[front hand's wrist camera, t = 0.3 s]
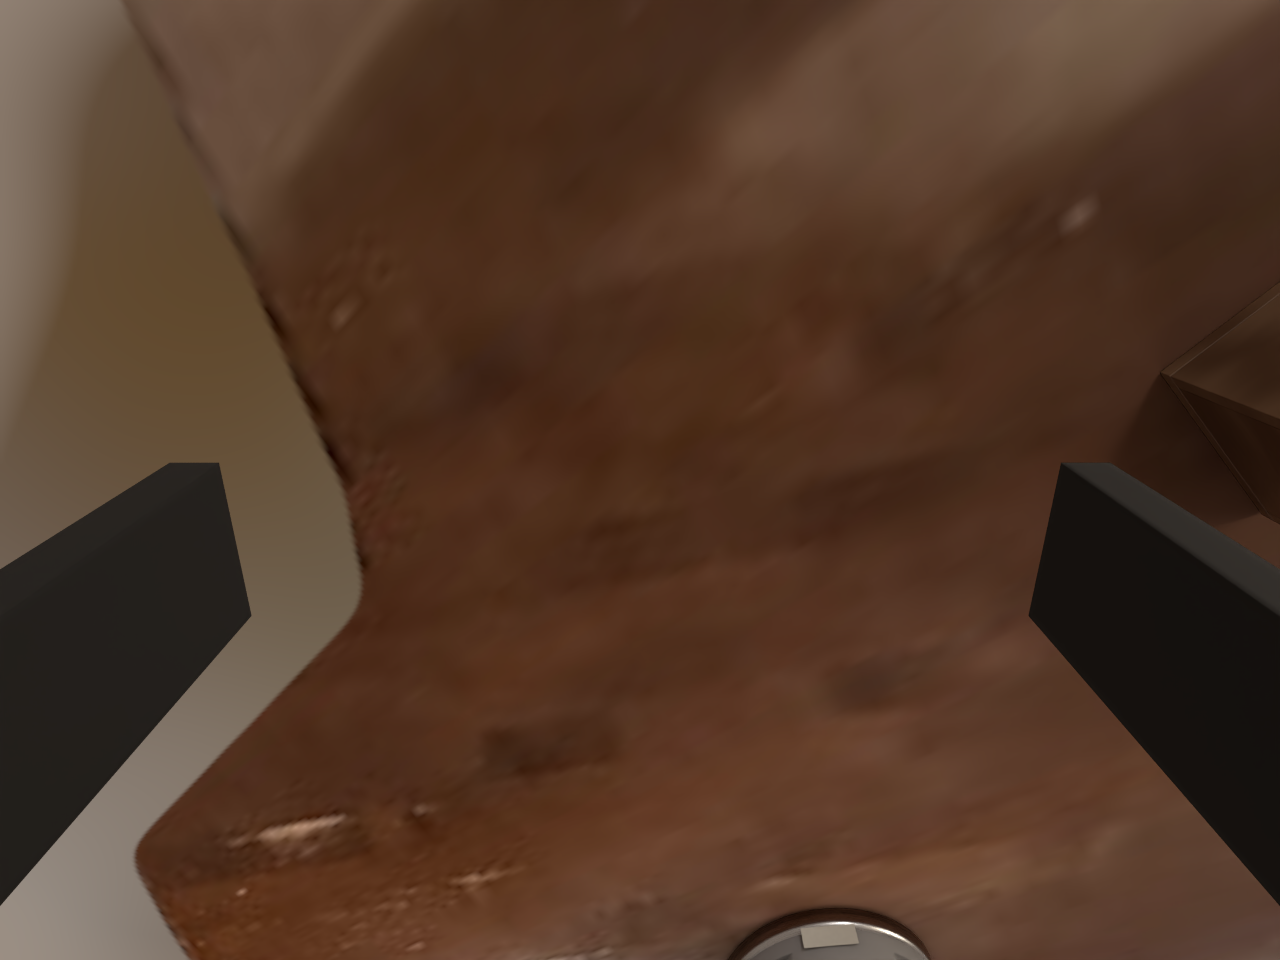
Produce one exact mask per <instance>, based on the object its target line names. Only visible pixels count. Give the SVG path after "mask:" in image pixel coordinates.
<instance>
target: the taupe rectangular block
mask: <svg viewBox="0 0 1280 960" xmlns="http://www.w3.org/2000/svg"><path fill="white" fill-rule="evenodd" d="M1160 373H1161V375H1162V376H1163V378H1164V379H1165V380H1166V382H1167V383H1168V385H1169V386H1170V387H1171V389H1172V390H1173V391H1174V393H1175V394H1176V396H1177V397H1178V398H1179V400H1180V401H1181V403H1182V404H1183V405H1184V407H1185V408H1186V410H1187V411H1188V412H1189V414H1190V415H1191V417H1192V418H1193V419H1194V421H1195V422H1196V423H1197V425H1198V426H1199V428H1200V429H1201V430H1202V432H1203V433H1204V435H1205V436H1206V437H1207V439H1208V440H1209V442H1210V443H1211V444H1212V446H1213V447H1214V448H1215V450H1216V451H1217V453H1218V454H1219V455H1220V457H1221V458H1222V460H1223V461H1224V462H1225V464H1226V465H1227V467H1228V468H1229V469H1230V471H1231V472H1232V474H1233V475H1234V476H1235V478H1236V479H1237V480H1238V482H1239V483H1240V485H1241V486H1242V487H1243V489H1244V490H1245V492H1246V493H1247V494H1248V496H1249V497H1250V499H1251V500H1252V501H1253V503H1254V504H1255V505H1256V507H1257V508H1258V510H1259V511H1260V512H1261V514H1262V515H1264V516H1266V517H1267V518H1269V519H1271V520H1273V521H1275V522H1277V523H1278V524H1280V282H1279V283H1278V284H1276V285H1275V286H1274V287H1272V288H1271V289H1270V290H1268V291H1267V292H1266V293H1264V294H1263V295H1262V296H1260V297H1259V298H1258V299H1256V300H1255V301H1254V302H1252V303H1251V304H1250V305H1248V306H1247V307H1246V308H1245V309H1243V310H1242V311H1241V312H1239V313H1238V314H1237V315H1235V316H1234V317H1233V318H1231V319H1230V320H1229V321H1227V322H1226V323H1225V324H1223V325H1222V326H1221V327H1219V328H1218V329H1217V330H1215V331H1214V332H1213V333H1211V334H1210V335H1209V336H1207V337H1206V338H1205V339H1203V340H1202V341H1201V342H1200V343H1198V344H1197V345H1196V346H1194V347H1193V348H1192V349H1190V350H1189V351H1188V352H1186V353H1185V354H1184V355H1182V356H1181V357H1180V358H1178V359H1177V360H1176V361H1174V362H1173V363H1172V364H1170V365H1169V366H1168V367H1166V368H1165V369H1164V370H1162V371H1161V372H1160Z"/></svg>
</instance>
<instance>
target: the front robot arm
mask: <svg viewBox="0 0 1280 960" xmlns="http://www.w3.org/2000/svg"><path fill="white" fill-rule="evenodd" d="M250 617H251V611H250V607H249V602H248V597H247V593H246V588H245V583H244V579H243V574H242V569H241V565H240V560H239V555H238V550H237V546H236V541H235V536H234V532H233V527H232V522H231V517H230V513H229V508H228V503H227V499H226V494H225V489H224V485H223V480H222V475H221V471H220V466H219V463H169V464H167V465H165V466H164V467H162V468H161V469H159V470H158V471H156V472H154V473H153V474H151V475H150V476H148V477H146V478H145V479H143V480H142V481H140V482H138V483H137V484H135V485H134V486H132V487H131V488H129V489H127V490H126V491H124V492H123V493H121V494H119V495H118V496H116V497H115V498H113V499H111V500H110V501H108V502H107V503H105V504H103V505H102V506H100V507H99V508H97V509H95V510H94V511H92V512H91V513H89V514H88V515H86V516H84V517H83V518H81V519H80V520H78V521H76V522H75V523H73V524H72V525H70V526H68V527H67V528H65V529H64V530H62V531H60V532H59V533H57V534H56V535H54V536H53V537H51V538H49V539H48V540H46V541H45V542H43V543H41V544H40V545H38V546H37V547H35V548H33V549H32V550H30V551H29V552H27V553H26V554H24V555H22V556H21V557H19V558H18V559H16V560H14V561H13V562H11V563H10V564H8V565H6V566H5V567H3V568H2V569H0V905H1V904H2V903H3V902H4V901H5V900H6V899H7V897H8V896H9V895H10V894H11V893H12V892H13V890H14V889H15V888H16V887H17V886H18V885H19V883H20V882H21V881H22V880H23V879H24V878H25V877H26V875H27V874H28V873H29V872H30V871H31V870H32V869H33V867H34V866H35V865H36V864H37V863H38V862H39V860H40V859H41V858H42V857H43V856H44V855H45V853H46V852H47V851H48V850H49V849H50V848H51V847H52V845H53V844H54V843H55V842H56V841H57V840H58V838H59V837H60V836H61V835H62V834H63V833H64V832H65V830H66V829H67V828H68V827H69V826H70V825H71V823H72V822H73V821H74V820H75V819H76V818H77V816H78V815H79V814H80V813H81V812H82V811H83V810H84V808H85V807H86V806H87V805H88V804H89V803H90V801H91V800H92V799H93V798H94V797H95V796H96V795H97V793H98V792H99V791H100V790H101V789H102V788H103V787H104V785H105V784H106V783H107V782H108V781H109V780H110V778H111V777H112V776H113V775H114V774H115V773H116V772H117V770H118V769H119V768H120V767H121V766H122V765H123V763H124V762H125V761H126V760H127V759H128V758H129V756H130V755H131V754H132V753H133V752H134V751H135V750H136V748H137V747H138V746H139V745H140V744H141V743H142V742H143V740H144V739H145V738H146V737H147V736H148V735H149V733H150V732H151V731H152V730H153V729H154V728H155V726H156V725H157V724H158V723H159V722H160V721H161V720H162V718H163V717H164V716H165V715H166V714H167V713H168V711H169V710H170V709H171V708H172V707H173V706H174V705H175V703H176V702H177V701H178V700H179V699H180V698H181V696H182V695H183V694H184V693H185V692H186V691H187V690H188V688H189V687H190V686H191V685H192V684H193V683H194V681H195V680H196V679H197V678H198V677H199V676H200V675H201V673H202V672H203V671H204V670H205V669H206V668H207V666H208V665H209V664H210V663H211V662H212V661H213V660H214V658H215V657H216V656H217V655H218V654H219V653H220V651H221V650H222V649H223V648H224V647H225V646H226V645H227V643H228V642H229V641H230V640H231V639H232V638H233V636H234V635H235V634H236V633H237V632H238V631H239V630H240V628H241V627H242V626H243V625H244V624H245V623H246V621H247V620H248V619H249V618H250ZM1029 617H1030V618H1031V619H1032V620H1033V621H1034V623H1035V624H1036V625H1037V626H1038V627H1039V628H1040V630H1041V631H1042V632H1043V633H1044V634H1045V635H1046V636H1047V638H1048V639H1049V640H1050V641H1051V642H1052V643H1053V645H1054V646H1055V647H1056V648H1057V649H1058V650H1059V651H1060V653H1061V654H1062V655H1063V656H1064V657H1065V658H1066V660H1067V661H1068V662H1069V663H1070V664H1071V665H1072V666H1073V668H1074V669H1075V670H1076V671H1077V672H1078V673H1079V675H1080V676H1081V677H1082V678H1083V679H1084V680H1085V681H1086V683H1087V684H1088V685H1089V686H1090V687H1091V688H1092V690H1093V691H1094V692H1095V693H1096V694H1097V695H1098V696H1099V698H1100V699H1101V700H1102V701H1103V702H1104V703H1105V705H1106V706H1107V707H1108V708H1109V709H1110V710H1111V711H1112V713H1113V714H1114V715H1115V716H1116V717H1117V718H1118V720H1119V721H1120V722H1121V723H1122V724H1123V725H1124V727H1125V728H1126V729H1127V730H1128V731H1129V732H1130V733H1131V735H1132V736H1133V737H1134V738H1135V739H1136V740H1137V742H1138V743H1139V744H1140V745H1141V746H1142V747H1143V748H1144V750H1145V751H1146V752H1147V753H1148V754H1149V755H1150V757H1151V758H1152V759H1153V760H1154V761H1155V762H1156V763H1157V765H1158V766H1159V767H1160V768H1161V769H1162V770H1163V772H1164V773H1165V774H1166V775H1167V776H1168V777H1169V778H1170V780H1171V781H1172V782H1173V783H1174V784H1175V785H1176V787H1177V788H1178V789H1179V790H1180V791H1181V792H1182V793H1183V795H1184V796H1185V797H1186V798H1187V799H1188V800H1189V802H1190V803H1191V804H1192V805H1193V806H1194V807H1195V808H1196V810H1197V811H1198V812H1199V813H1200V814H1201V815H1202V817H1203V818H1204V819H1205V820H1206V821H1207V822H1208V823H1209V825H1210V826H1211V827H1212V828H1213V829H1214V830H1215V832H1216V833H1217V834H1218V835H1219V836H1220V837H1221V838H1222V840H1223V841H1224V842H1225V843H1226V844H1227V845H1228V847H1229V848H1230V849H1231V850H1232V851H1233V852H1234V853H1235V855H1236V856H1237V857H1238V858H1239V859H1240V860H1241V862H1242V863H1243V864H1244V865H1245V866H1246V867H1247V868H1248V870H1249V871H1250V872H1251V873H1252V874H1253V875H1254V877H1255V878H1256V879H1257V880H1258V881H1259V882H1260V884H1261V885H1262V886H1263V887H1264V888H1265V889H1266V890H1267V892H1268V893H1269V894H1270V895H1271V896H1272V897H1273V899H1274V900H1275V901H1276V902H1277V903H1278V904H1279V905H1280V569H1278V568H1277V567H1275V566H1274V565H1272V564H1270V563H1269V562H1267V561H1266V560H1264V559H1262V558H1261V557H1259V556H1258V555H1256V554H1254V553H1253V552H1251V551H1250V550H1248V549H1247V548H1245V547H1243V546H1242V545H1240V544H1239V543H1237V542H1235V541H1234V540H1232V539H1231V538H1229V537H1227V536H1226V535H1224V534H1223V533H1221V532H1220V531H1218V530H1216V529H1215V528H1213V527H1212V526H1210V525H1208V524H1207V523H1205V522H1204V521H1202V520H1200V519H1199V518H1197V517H1196V516H1194V515H1192V514H1191V513H1189V512H1188V511H1186V510H1185V509H1183V508H1181V507H1180V506H1178V505H1177V504H1175V503H1173V502H1172V501H1170V500H1169V499H1167V498H1165V497H1164V496H1162V495H1161V494H1159V493H1157V492H1156V491H1154V490H1153V489H1151V488H1150V487H1148V486H1146V485H1145V484H1143V483H1142V482H1140V481H1138V480H1137V479H1135V478H1134V477H1132V476H1130V475H1129V474H1127V473H1126V472H1124V471H1122V470H1121V469H1119V468H1118V467H1116V466H1115V465H1113V464H1111V463H1061V466H1060V471H1059V475H1058V480H1057V485H1056V489H1055V494H1054V499H1053V503H1052V508H1051V513H1050V517H1049V522H1048V527H1047V532H1046V536H1045V541H1044V546H1043V550H1042V555H1041V560H1040V564H1039V569H1038V574H1037V579H1036V583H1035V588H1034V593H1033V597H1032V602H1031V607H1030V611H1029ZM729 960H931V957H930V955H929V953H928V951H927V949H926V947H925V946H924V945H923V943H922V942H921V941H920V940H919V938H918V937H917V936H916V935H915V934H913V933H912V932H911V931H910V930H909V929H907V928H906V927H904V926H903V925H901V924H899V923H898V922H896V921H894V920H892V919H889V918H887V917H884V916H882V915H879V914H875V913H872V912H868V911H862V910H857V909H847V908H827V909H816V910H810V911H804V912H800V913H796V914H792V915H789V916H786V917H783V918H781V919H778V920H776V921H774V922H772V923H770V924H768V925H766V926H764V927H762V928H761V929H759V930H757V931H756V932H754V933H753V934H752V935H750V936H749V937H748V938H747V939H745V940H744V941H743V942H742V943H741V944H740V945H739V946H738V947H737V948H736V950H735V951H734V952H733V954H732V955H731V956H730V958H729Z"/></svg>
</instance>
